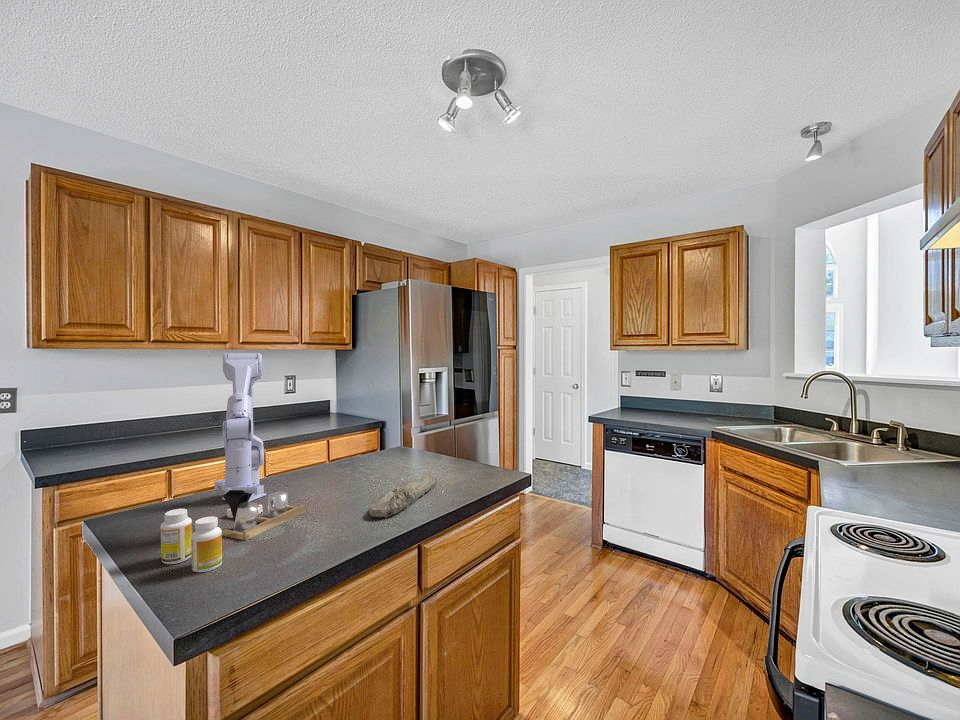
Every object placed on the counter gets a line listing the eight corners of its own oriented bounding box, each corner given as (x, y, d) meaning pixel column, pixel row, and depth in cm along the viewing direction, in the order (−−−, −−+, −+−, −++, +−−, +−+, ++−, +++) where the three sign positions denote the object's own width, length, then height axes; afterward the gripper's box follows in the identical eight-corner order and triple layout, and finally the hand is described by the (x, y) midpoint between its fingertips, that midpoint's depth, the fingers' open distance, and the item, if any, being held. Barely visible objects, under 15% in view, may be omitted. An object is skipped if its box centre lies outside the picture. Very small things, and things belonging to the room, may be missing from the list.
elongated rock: (445, 488, 147) (418, 486, 150) (444, 472, 147) (417, 471, 150) (393, 521, 114) (359, 518, 117) (392, 500, 114) (359, 498, 117)
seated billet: (263, 518, 116) (263, 496, 116) (278, 512, 121) (277, 490, 121) (277, 521, 115) (277, 498, 115) (291, 514, 119) (291, 492, 119)
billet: (228, 528, 108) (233, 506, 107) (245, 521, 113) (249, 499, 112) (243, 536, 107) (248, 513, 106) (259, 528, 111) (263, 506, 110)
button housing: (227, 517, 118) (227, 509, 118) (246, 509, 123) (246, 502, 123) (243, 520, 115) (243, 512, 115) (262, 512, 121) (262, 504, 121)
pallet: (221, 535, 106) (221, 527, 106) (282, 508, 124) (282, 501, 124) (246, 540, 103) (245, 532, 103) (304, 512, 121) (304, 505, 121)
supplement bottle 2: (228, 562, 92) (227, 516, 92) (205, 575, 87) (204, 526, 87) (209, 558, 94) (208, 513, 94) (185, 570, 89) (184, 523, 89)
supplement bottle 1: (187, 550, 98) (186, 505, 98) (196, 558, 94) (195, 511, 94) (157, 560, 94) (156, 512, 93) (165, 568, 90) (164, 518, 90)
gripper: (202, 467, 109) (203, 521, 109) (246, 472, 104) (246, 530, 104) (228, 460, 115) (228, 512, 115) (270, 465, 110) (270, 519, 110)
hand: (239, 520), depth 110 cm, fingers closed, pressing on billet
